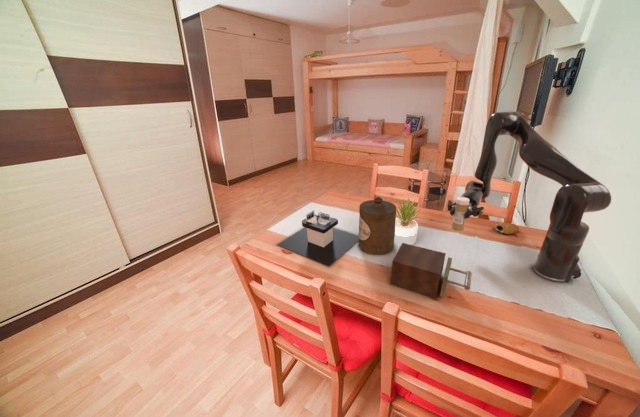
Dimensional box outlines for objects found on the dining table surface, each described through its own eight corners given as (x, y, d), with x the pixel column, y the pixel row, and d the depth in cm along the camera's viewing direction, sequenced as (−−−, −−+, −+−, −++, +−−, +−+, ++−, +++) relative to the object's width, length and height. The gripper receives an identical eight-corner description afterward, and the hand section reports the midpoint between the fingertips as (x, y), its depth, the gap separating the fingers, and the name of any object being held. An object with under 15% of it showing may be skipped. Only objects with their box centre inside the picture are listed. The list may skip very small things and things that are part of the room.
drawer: (468, 282, 88) (473, 263, 85) (466, 304, 79) (471, 284, 76) (408, 265, 97) (410, 247, 94) (400, 284, 88) (402, 265, 85)
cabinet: (441, 275, 93) (445, 253, 89) (435, 298, 83) (440, 274, 79) (400, 264, 100) (402, 242, 96) (390, 284, 90) (392, 261, 86)
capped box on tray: (362, 237, 119) (363, 210, 113) (329, 266, 100) (328, 236, 94) (313, 221, 134) (312, 197, 129) (277, 244, 115) (273, 217, 110)
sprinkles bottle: (465, 229, 106) (472, 198, 101) (459, 232, 104) (465, 201, 99) (455, 225, 110) (460, 195, 104) (448, 228, 108) (454, 198, 102)
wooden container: (357, 236, 120) (358, 191, 111) (390, 236, 119) (393, 190, 110) (359, 254, 106) (361, 205, 97) (396, 255, 105) (401, 205, 96)
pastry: (509, 226, 123) (512, 218, 121) (522, 233, 117) (525, 225, 115) (492, 228, 121) (494, 221, 120) (504, 235, 115) (506, 228, 114)
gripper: (453, 189, 116) (441, 202, 105) (490, 196, 108) (481, 210, 96) (450, 205, 120) (438, 218, 108) (486, 212, 111) (477, 228, 99)
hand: (458, 214), depth 102 cm, fingers closed on sprinkles bottle, 4 cm apart
